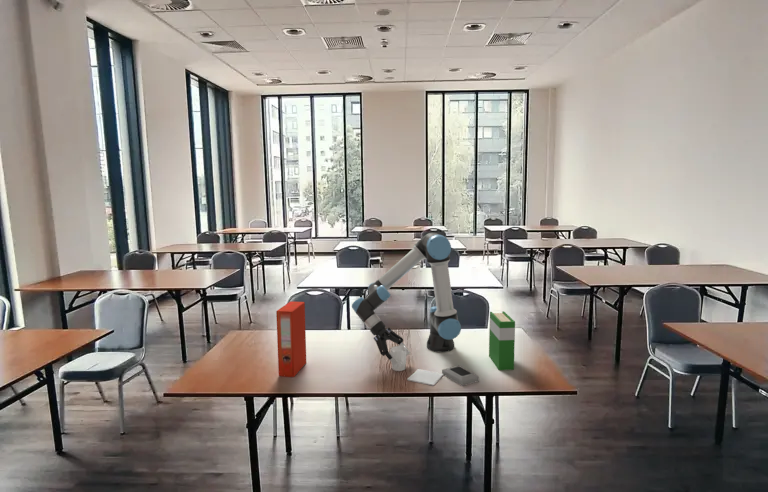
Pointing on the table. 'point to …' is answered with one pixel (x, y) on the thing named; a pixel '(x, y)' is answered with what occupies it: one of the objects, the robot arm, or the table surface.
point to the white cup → (399, 357)
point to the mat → (425, 377)
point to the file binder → (291, 338)
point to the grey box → (460, 375)
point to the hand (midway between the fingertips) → (402, 358)
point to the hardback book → (502, 340)
